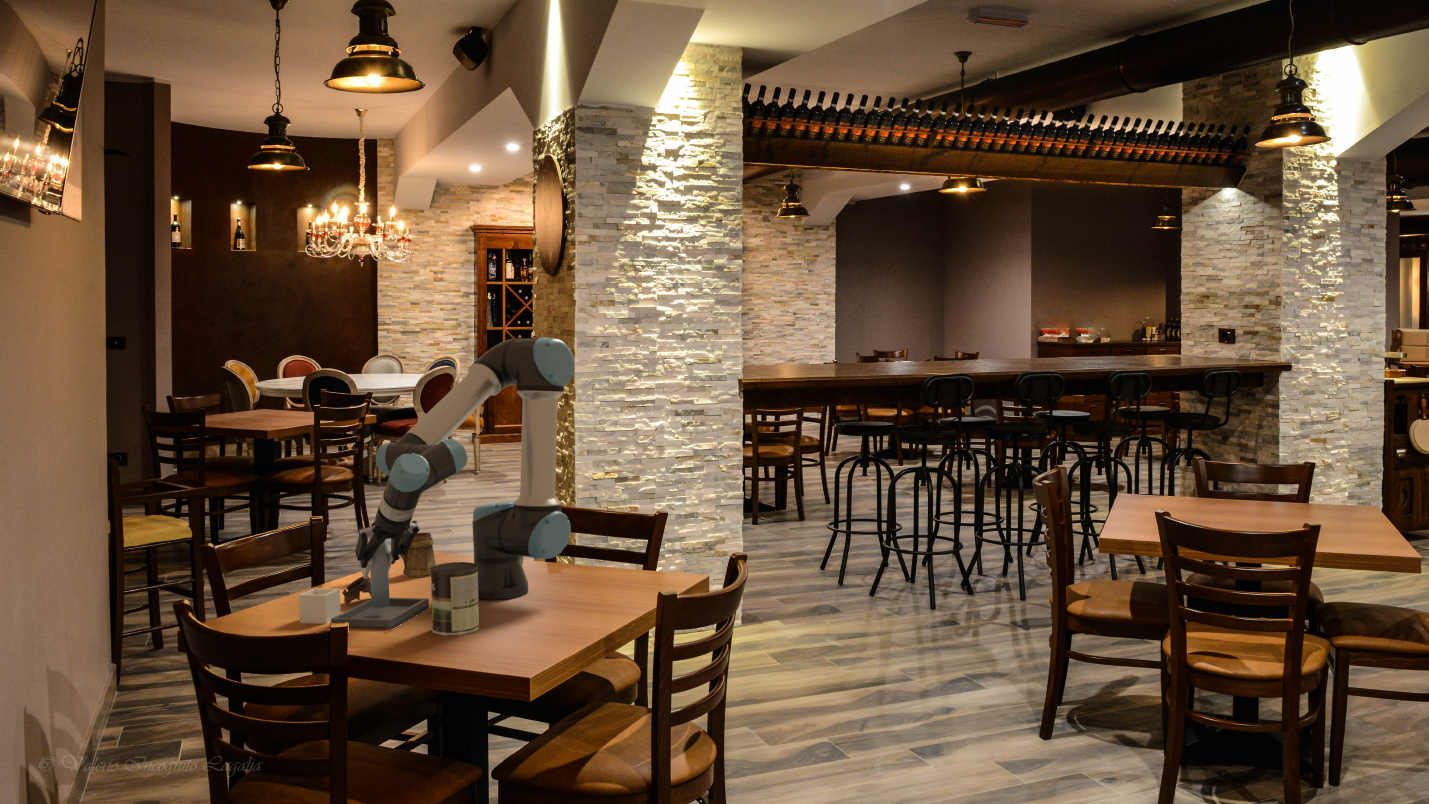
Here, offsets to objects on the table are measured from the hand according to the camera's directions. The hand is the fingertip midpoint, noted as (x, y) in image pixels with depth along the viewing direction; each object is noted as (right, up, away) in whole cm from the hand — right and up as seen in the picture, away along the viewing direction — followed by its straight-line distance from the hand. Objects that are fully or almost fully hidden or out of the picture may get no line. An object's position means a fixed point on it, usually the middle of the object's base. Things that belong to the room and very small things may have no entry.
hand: (374, 572), depth 239 cm
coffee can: (+22, -11, -12) cm, 28 cm away
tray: (+3, -11, -2) cm, 11 cm away
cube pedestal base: (-11, -11, -4) cm, 16 cm away
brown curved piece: (-5, -10, +12) cm, 17 cm away
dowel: (+2, -7, -3) cm, 8 cm away
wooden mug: (-4, -8, +45) cm, 46 cm away
